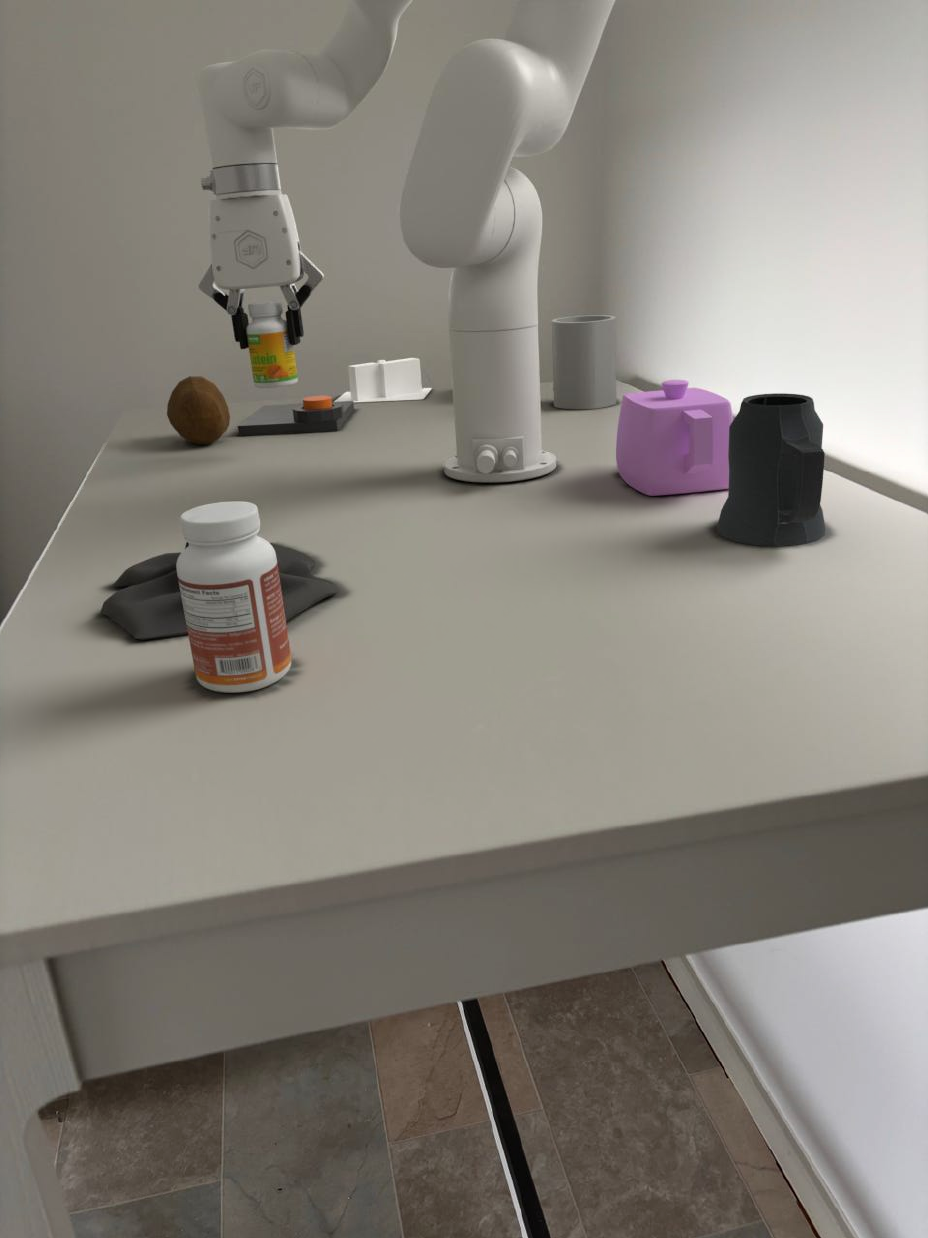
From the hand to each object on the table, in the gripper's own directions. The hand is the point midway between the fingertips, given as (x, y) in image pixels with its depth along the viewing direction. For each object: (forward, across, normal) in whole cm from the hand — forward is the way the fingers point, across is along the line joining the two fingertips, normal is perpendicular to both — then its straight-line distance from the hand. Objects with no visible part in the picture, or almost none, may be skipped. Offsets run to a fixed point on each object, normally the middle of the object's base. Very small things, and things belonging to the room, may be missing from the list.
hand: (270, 344), depth 124 cm
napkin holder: (+14, +7, +43) cm, 45 cm away
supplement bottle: (+5, 0, 0) cm, 5 cm away
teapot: (+15, +45, -22) cm, 52 cm away
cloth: (+15, +5, -50) cm, 52 cm away
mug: (+15, +51, -42) cm, 68 cm away
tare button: (+11, +1, +17) cm, 21 cm away
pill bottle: (+15, +11, -67) cm, 69 cm away
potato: (+13, -14, +12) cm, 23 cm away
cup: (+14, +39, +25) cm, 49 cm away
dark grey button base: (+13, -3, +22) cm, 26 cm away
